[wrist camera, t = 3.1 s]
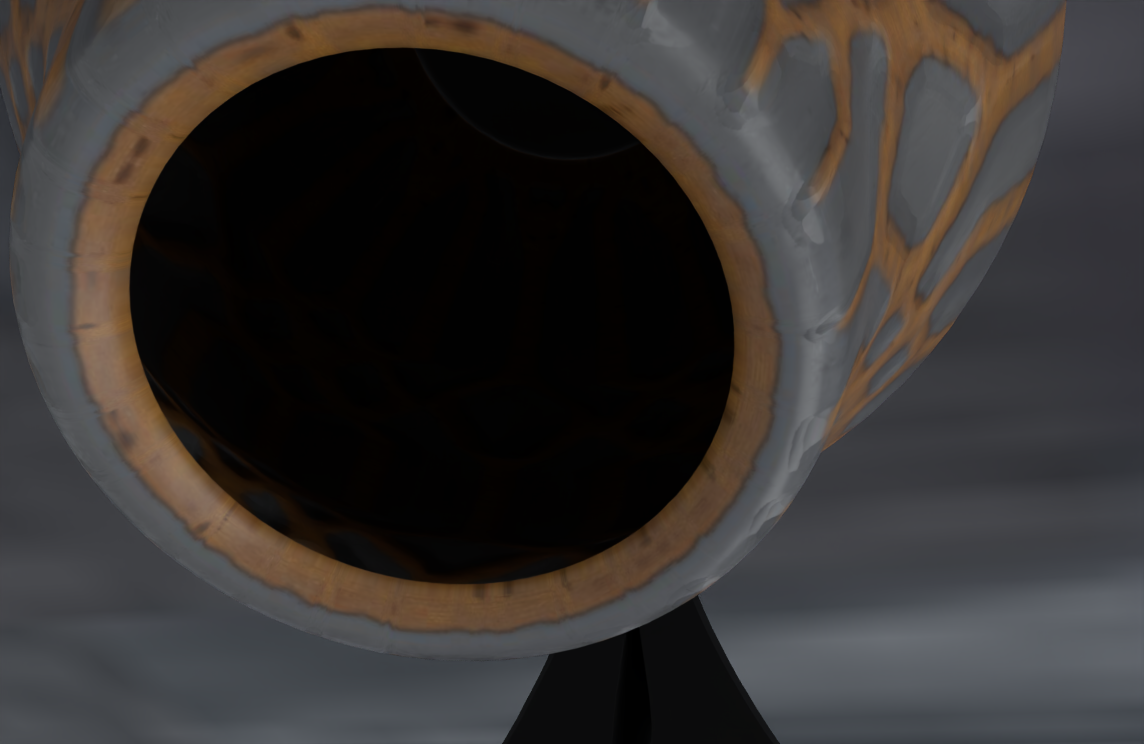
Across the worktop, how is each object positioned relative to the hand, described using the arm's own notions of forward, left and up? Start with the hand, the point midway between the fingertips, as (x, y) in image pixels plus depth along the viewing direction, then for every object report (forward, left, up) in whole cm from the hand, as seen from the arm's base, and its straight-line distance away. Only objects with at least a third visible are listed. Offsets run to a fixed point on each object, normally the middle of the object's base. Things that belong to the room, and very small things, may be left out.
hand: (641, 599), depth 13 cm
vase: (+6, -5, -2) cm, 8 cm away
